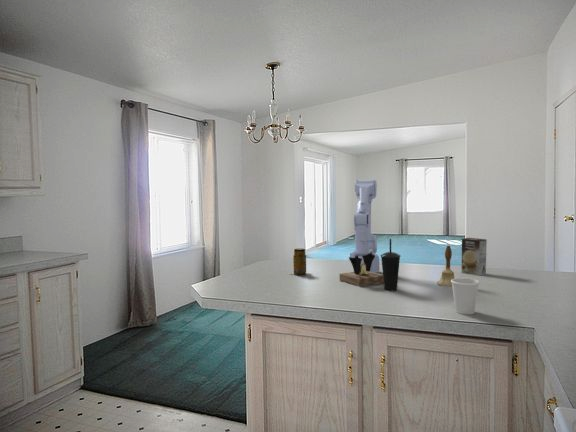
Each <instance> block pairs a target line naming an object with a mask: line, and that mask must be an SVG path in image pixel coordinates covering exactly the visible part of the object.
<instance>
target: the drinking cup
mask: <svg viewBox="0 0 576 432" xmlns="http://www.w3.org/2000/svg"><path fill="white" fill-rule="evenodd" d="M380 257H381V259H380V260H381V266H382V267H381V269H382V275H383V280H384V283H383V289H384V291H388V292H395V291H397V290H398V281H399V270H400V259H401V258H400V257H401V254H399V253H396V252H395V251H392V238H389V251H387V252H385V253H382V254H380Z"/></svg>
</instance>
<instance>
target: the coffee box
mask: <svg viewBox="0 0 576 432" xmlns="http://www.w3.org/2000/svg"><path fill="white" fill-rule="evenodd" d="M487 242H488V241H487V239H486V238H476V237H466V238H461V267H460V268H461V273H462V274H468V275H473V276H474V275H475V276H482V275H486V274H487V244H488V243H487Z"/></svg>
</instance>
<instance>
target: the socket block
mask: <svg viewBox="0 0 576 432" xmlns="http://www.w3.org/2000/svg"><path fill="white" fill-rule="evenodd" d="M339 281H341V282H344V283H346V284H349V285H350V284H351V285H353V286H357V287H365V286H372V285H378V284H384V280H383V273H382V274H381V273H373V272H368V271H366V276H359V275H358V274H355V273H354V271H352V272H351V271H350V272H343V273H339Z"/></svg>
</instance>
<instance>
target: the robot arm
mask: <svg viewBox="0 0 576 432" xmlns="http://www.w3.org/2000/svg"><path fill="white" fill-rule="evenodd" d="M377 186H378V185H377V180H376V179H361V180H358V179H356V180H355V182H354V192H355V196H356V198H357V199H359V201H358V202H357V203H356V209H355V214H353V227H354V228H353V229H354V235H355V236H354V239H355V241H354V243H355V246H354V247H355V248H354V249H355V250H353V251H352V252H349V257H348V260H349V261H350V263H351V266H352V269H353V272H354V273H355V274H359V273H360V265H361V263H362V264H366V271H368V272H373V273H377V274H381V272H382V271H380V257H379V256H380V255H379V254H377V252H378V242H377V237H376V236H375V234H373V233H372V224H371V223H372V201H373V199H376V197H377V191H378V190H377Z"/></svg>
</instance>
